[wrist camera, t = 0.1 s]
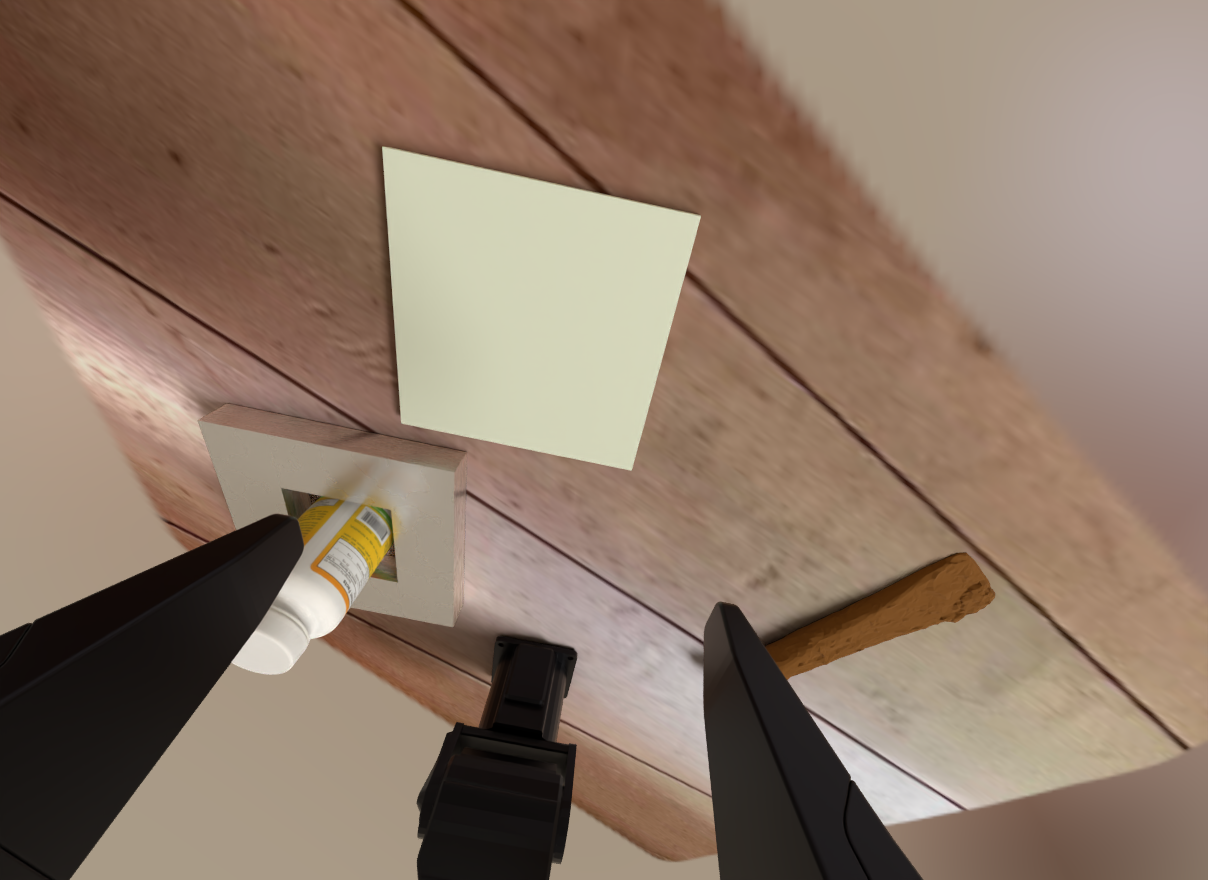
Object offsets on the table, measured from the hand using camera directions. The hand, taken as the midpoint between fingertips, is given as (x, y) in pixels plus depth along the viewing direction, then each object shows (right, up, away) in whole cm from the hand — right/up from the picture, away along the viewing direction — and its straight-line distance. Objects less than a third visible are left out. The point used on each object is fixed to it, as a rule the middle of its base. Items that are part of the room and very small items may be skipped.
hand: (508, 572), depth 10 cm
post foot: (-14, -2, +20) cm, 25 cm away
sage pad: (-2, +8, +12) cm, 15 cm away
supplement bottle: (-14, -2, +20) cm, 25 cm away
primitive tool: (+18, -10, +22) cm, 30 cm away
